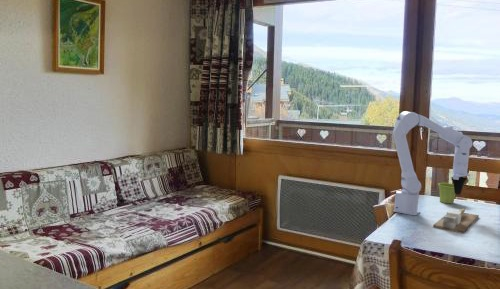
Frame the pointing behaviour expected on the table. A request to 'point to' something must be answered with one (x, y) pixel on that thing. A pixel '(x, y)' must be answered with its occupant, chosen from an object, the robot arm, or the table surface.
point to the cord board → (461, 225)
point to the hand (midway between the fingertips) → (457, 193)
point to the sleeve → (455, 215)
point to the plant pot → (446, 192)
